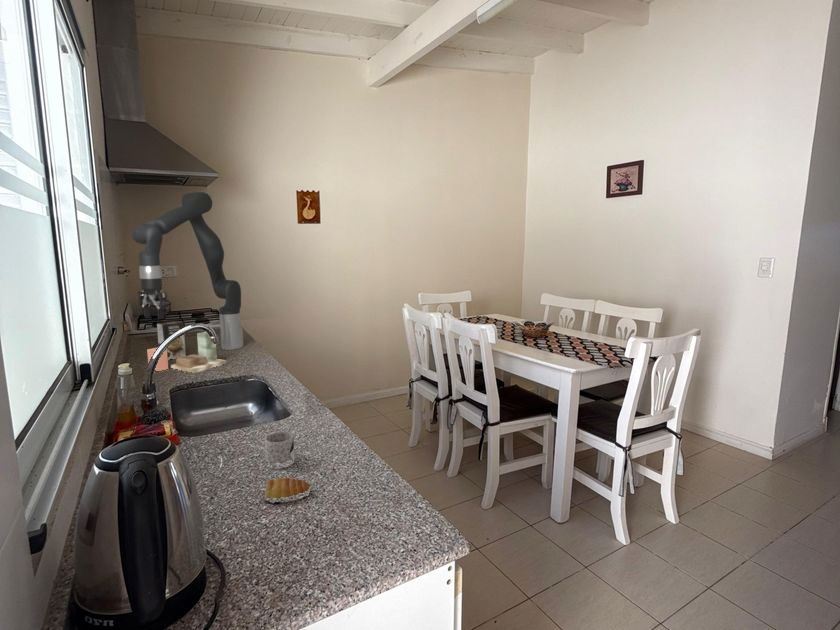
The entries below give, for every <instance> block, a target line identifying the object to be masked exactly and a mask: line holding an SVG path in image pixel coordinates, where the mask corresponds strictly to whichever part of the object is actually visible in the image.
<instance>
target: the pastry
mask: <svg viewBox="0 0 840 630" xmlns="http://www.w3.org/2000/svg"><path fill="white" fill-rule="evenodd" d="M309 486H311V483H308V482H307V481H304V480H302V479H296V478H288V477H287V476H285V477H283V478H282V477H276V478H274V479H271V478H270V479H268V480H267V481H266V487H265V492H264V493H265V495H264V498H265V497H266V498H281V497H289V496H293V495H297V494H299V493H303V492H305V491H307V490H308V489H309ZM311 487H312V486H311Z"/></svg>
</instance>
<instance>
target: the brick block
mask: <svg viewBox="0 0 840 630" xmlns="http://www.w3.org/2000/svg"><path fill="white" fill-rule="evenodd" d="M158 347H159V346H158ZM158 347H153V348H149V349H146V350H147V351H146V352H147V363H149V361H150V359H151V357H152V356H153V354H154V352H155V351H156V349H157V348H158ZM166 369H168V370H169V360H168V358H167V348H166V350H165V351H164V352H163V354H162V355H161V357H160V358H159V360H158V363H157V365H156V368H155V370H156V371H162V370H166ZM166 371H167V370H166ZM162 372H163V371H162Z"/></svg>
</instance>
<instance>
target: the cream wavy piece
mask: <svg viewBox="0 0 840 630" xmlns="http://www.w3.org/2000/svg"><path fill="white" fill-rule="evenodd" d="M196 338H197V354H189V355H186V356H185V357H181V358H177V359H175V363H174V364H170V369H171V368H173V369H172V370H175V369H178V370H177V371H181V370H182V372H186V371H187V373H191V372H192V374H196V373H200V372H203V371H206V370H210V369H213V367H214V368H217V367H219V366H220V367H221V366H223V364H224V365H226V364H227V360H225V359H220V358H217V357H218V356H217V343H216V344H214V343H213V342H212V341H211V339H210V336H209V334H208V333H207V332H206V331H201V332H197V333H196ZM216 366H217V367H216Z"/></svg>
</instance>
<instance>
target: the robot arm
mask: <svg viewBox="0 0 840 630" xmlns="http://www.w3.org/2000/svg"><path fill="white" fill-rule="evenodd" d="M181 204H182V206H180V207H176V208H173V209H171V210H168V211H166V212H164V213H162V214H160V215H159V216H157V217H156V218H154V219H151V220H148V221H146V222H142V223H141V224H140V223H139V224H138V225H137V226H135V227H134V229H133V231H132V232H131V236H132V240H134V242H136V243H138V244H139V245H140V244H141V245H146V246H145V248H144V249H143V250H140V251H139V252H138V260H139V262H138V263H139V281H140V282H139V284H140V289H141V290H140V291H139V290H138V292H137V293H138V296H137V297H138V306H139V307H141V308H142V309H143V316H144V317H145V318H150V317H151V308H150V306H151V304H153V305H154V306H156V307H155V308H157V319H158V320H159V319H165V309H166V308H168V306H169V305H168V296H167V292H165V291H164V292H161V289H163V279H162V269H161V261H160V253H161V248H162V244H163V235H166V234H169V233H170V232H171V231H173V230H175V229H176V228H178V227H180V226H181V225H183V224H184V223H186V222H188V221H189V223H190V225H191V227H192V229H193V232H194V234H195V238H196V240H197V243H198V245H199V248H200V251H201V254H202V256H203V259H204V262H205V263H206V264H205V265H206V267H207V270H208V272H209V276H210V280H211V284H212V288H213V291H214V294H215V296H216V297H217V298H218V299H222V300H225V302H224V303H225V304H224V305H223V306H221V307H219V309H218V313H219V314H218V315H219V326H220V342H221V343H220V345H221V350H224V349H225V351H226V350H227V351H231V350H234V351H235V350H239V349H241V348H244V335H243V333H244V332H243V327H241V307H242V288H241V285H240V283H239V282H238V281H236V280H233V279H226V276H225V273H224V269H223V263H224V259H225V250H224V248H223V247H224V246H223V244H222V241H221V239H220V238H219V236H218V235H217V234H216V232H215V231H214V230H212V228H210V226H209V225H208V224H207V223H206V221H205V219H204V217H203V214H206V213H209V212H210V211H211V209H212V207H213V200H212V197H211V196H210V195H209V194H208V193H207V192H203V191H196V192H195V191H194V192H186V193H184V194H183V195H182V197H181Z"/></svg>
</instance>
